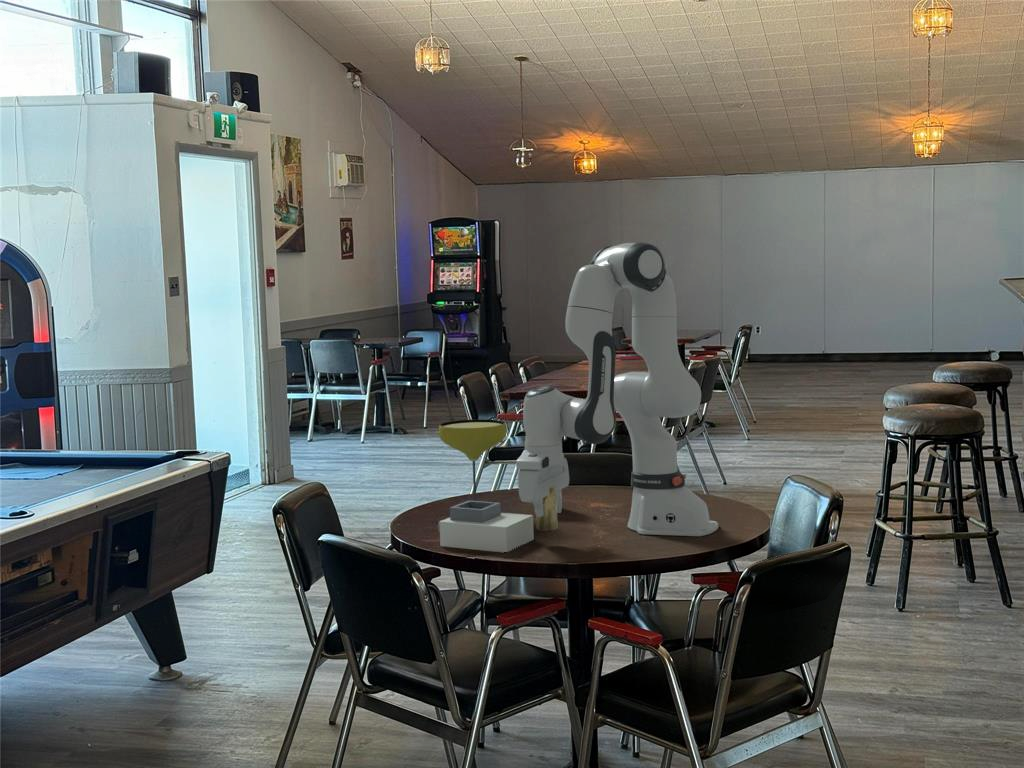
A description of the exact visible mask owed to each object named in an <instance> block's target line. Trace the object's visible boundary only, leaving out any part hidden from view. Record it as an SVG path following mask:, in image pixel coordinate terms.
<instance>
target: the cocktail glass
mask: <svg viewBox="0 0 1024 768" xmlns="http://www.w3.org/2000/svg"><path fill="white" fill-rule="evenodd" d="M438 435H439V439H440V440H441V441H442V442H443V443H444V445H447V446H449V447H451V448H452V449H454V450H457V451H459V452H461V453H463V454H464V455H465V456H466V457H467V458H468V460H470V462H472V475H473V476H472V477H473V479H472V482H473V484H472V485H473V488H472V489H473V500H472V501H478V500H477V486H476V485H477V482H476V461H478V460H479V459H480V457H481V456H482V454H483V453H485V452H486V451H488V450H490V449H492V448H493V447H495V446H497V445H498V444H500V443H502V441H503V440H504V439H505V438H506V436H507V424H506V422H505V421H502V420H499V419H498V420H497V419H461V420H453V421H447V422H443V423H441V424H439V425H438Z"/></svg>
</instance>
